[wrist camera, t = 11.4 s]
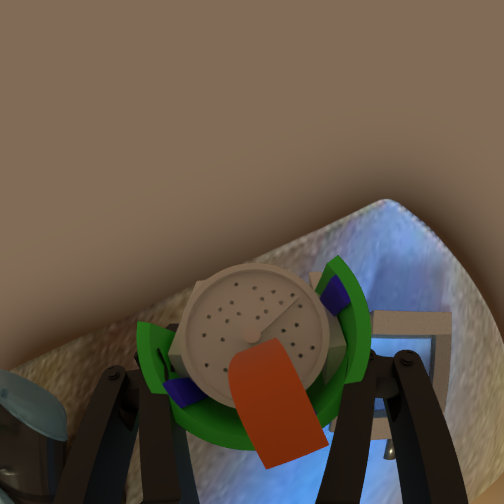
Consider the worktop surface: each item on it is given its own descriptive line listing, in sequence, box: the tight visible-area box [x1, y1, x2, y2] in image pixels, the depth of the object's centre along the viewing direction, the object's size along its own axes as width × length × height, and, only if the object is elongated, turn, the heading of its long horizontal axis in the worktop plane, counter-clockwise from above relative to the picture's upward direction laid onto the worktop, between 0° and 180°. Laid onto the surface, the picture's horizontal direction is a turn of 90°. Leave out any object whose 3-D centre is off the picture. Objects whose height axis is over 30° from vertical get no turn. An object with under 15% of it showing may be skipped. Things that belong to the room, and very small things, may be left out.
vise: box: [328, 310, 452, 460], centre depth 31 cm, size 18×21×6 cm
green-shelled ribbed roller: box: [137, 255, 371, 469], centre depth 15 cm, size 9×8×18 cm
